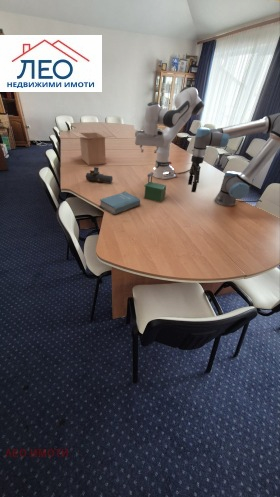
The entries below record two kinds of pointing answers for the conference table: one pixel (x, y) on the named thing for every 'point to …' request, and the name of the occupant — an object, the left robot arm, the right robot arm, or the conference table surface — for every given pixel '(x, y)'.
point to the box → (92, 146)
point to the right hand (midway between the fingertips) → (191, 188)
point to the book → (119, 202)
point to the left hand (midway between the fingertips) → (148, 152)
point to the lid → (154, 185)
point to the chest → (155, 194)
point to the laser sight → (98, 176)
